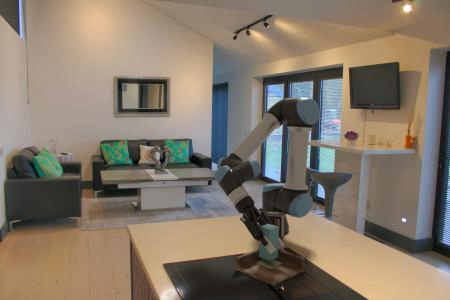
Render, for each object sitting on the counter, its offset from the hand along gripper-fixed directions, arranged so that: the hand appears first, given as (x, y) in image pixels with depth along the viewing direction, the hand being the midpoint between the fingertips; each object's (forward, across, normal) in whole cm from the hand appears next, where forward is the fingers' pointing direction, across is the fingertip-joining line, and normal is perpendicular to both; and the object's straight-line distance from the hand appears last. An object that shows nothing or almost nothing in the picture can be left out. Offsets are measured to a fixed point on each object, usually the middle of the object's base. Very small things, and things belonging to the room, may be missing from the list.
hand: (277, 249), depth 144 cm
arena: (+4, +3, -6) cm, 8 cm away
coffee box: (-2, -15, -12) cm, 19 cm away
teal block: (0, 0, -5) cm, 5 cm away
